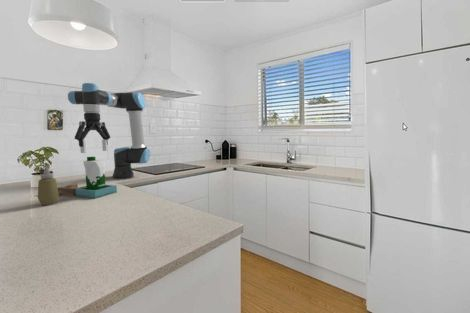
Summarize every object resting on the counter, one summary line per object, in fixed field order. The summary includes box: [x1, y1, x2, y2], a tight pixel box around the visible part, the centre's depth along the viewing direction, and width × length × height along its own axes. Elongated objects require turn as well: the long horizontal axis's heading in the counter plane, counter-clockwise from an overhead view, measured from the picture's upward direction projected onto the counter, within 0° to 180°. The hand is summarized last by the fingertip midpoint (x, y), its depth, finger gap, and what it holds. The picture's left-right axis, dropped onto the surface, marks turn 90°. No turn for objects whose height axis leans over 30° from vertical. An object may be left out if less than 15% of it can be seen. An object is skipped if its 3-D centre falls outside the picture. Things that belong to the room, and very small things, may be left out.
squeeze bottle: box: [37, 166, 60, 206], centre depth 114 cm, size 8×8×18 cm
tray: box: [75, 184, 118, 200], centre depth 132 cm, size 14×14×4 cm
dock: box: [57, 183, 86, 197], centre depth 135 cm, size 11×13×4 cm
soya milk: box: [83, 156, 107, 190], centre depth 131 cm, size 9×9×20 cm
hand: (94, 151), depth 130 cm, fingers open, 13 cm apart
